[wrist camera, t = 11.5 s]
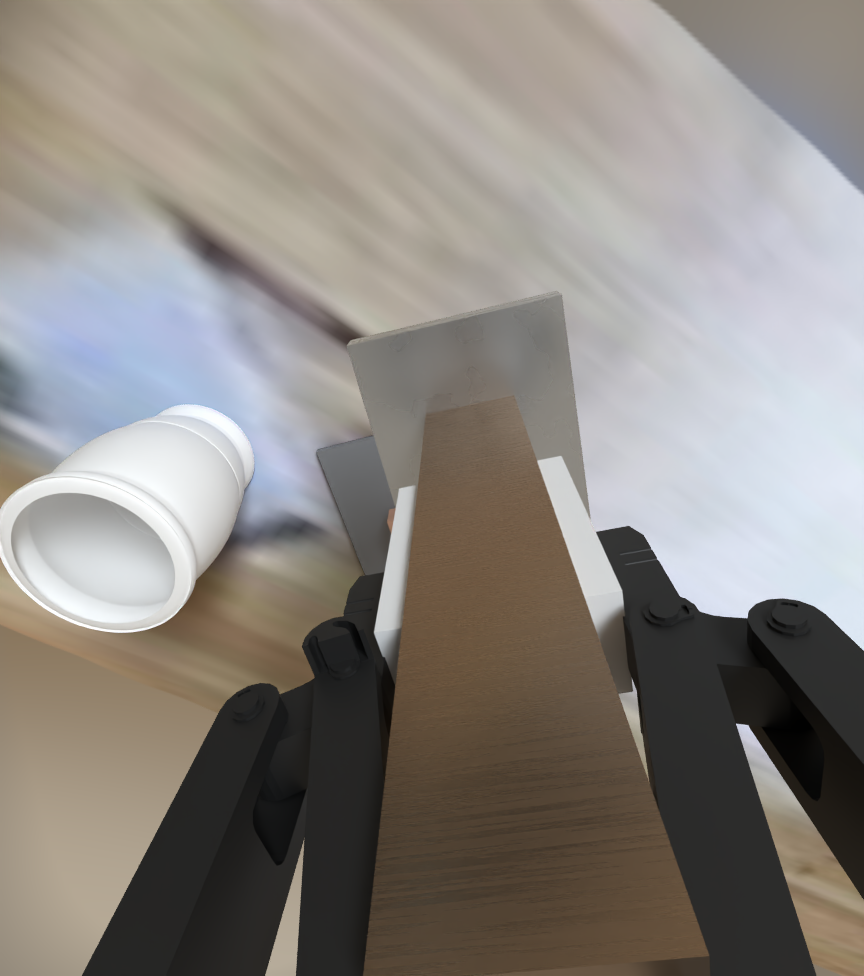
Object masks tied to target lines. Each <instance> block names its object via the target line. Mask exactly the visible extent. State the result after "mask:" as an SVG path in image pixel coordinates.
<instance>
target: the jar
mask: <svg viewBox="0 0 864 976" xmlns="http://www.w3.org/2000/svg"><path fill="white" fill-rule="evenodd" d="M254 465H255V461H254V454H253V450H252V447H251V444H250V442H249V440H248V438H247V437H246V435H245V434H244V432H243V431H242V430H241V429H240V427H239V426H238V425H237V424H236V423H234V422H233V421H232V420H231V419H230V418H228V417H227V416H225V415H224V414H222V413H220V412H218V411H216V410H214V409H211V408H208V407H205V406H200V405H192V404H184V405H177V406H173V407H170V408H168V409H165V410H164V411H162V412H160V413H159V414H158V415H156V416H155V417H150V418H146V419H143V420H140V421H137V422H135V423H132V424H130V425H128V426H124V427H121V428H118V429H115V430H112V431H110V432H107V433H105V434H103V435H101V436H99V437H97V438H95V439H93V440H92V441H90V442H88V443H87V444H85V445H83V446H82V447H80V448H79V449H78V450H76V451H75V452H74V453H72V454H71V455H70V456H69V457H68V458H66V459H65V460H64V461H63V462H62V463H61V464H60V465H59V466H58V467H57V468H56V469H55V470H54V471H53V472H52V473H51V474H48V475H44V476H42V477H39V478H37V479H35V480H33V481H31V482H29V483H27V484H26V485H24V486H23V487H21V488H19V489H18V490H16V491H15V492H14V493H13V494H12V495H10V496H9V498H8V499H7V500H6V501H5V502H4V504H3V506H2V507H1V509H0V557H1V560H2V562H3V564H4V566H5V567H6V569H7V571H8V572H9V574H10V575H11V577H12V578H13V580H14V581H15V582H16V583H17V584H18V586H19V587H20V588H21V589H22V590H23V591H24V592H25V593H26V594H27V595H28V596H29V597H31V598H32V599H33V600H34V601H35V602H37V603H38V604H39V605H41V606H42V607H44V608H45V609H47V610H48V611H50V612H51V613H53V614H55V615H57V616H59V617H61V618H63V619H65V620H67V621H69V622H72V623H74V624H77V625H80V626H83V627H86V628H90V629H94V630H99V631H106V632H117V633H126V632H137V631H143V630H147V629H150V628H153V627H156V626H158V625H160V624H162V623H164V622H166V621H167V620H169V619H170V618H172V617H173V616H174V615H175V614H176V613H177V612H178V611H179V610H180V609H181V608H182V607H183V606H184V604H185V603H186V602H187V600H188V599H189V597H190V595H191V593H192V591H193V589H194V586H195V582H196V579H197V578H199V577H200V576H201V575H202V574H203V572H204V571H205V570H206V569H207V568H208V567H209V566H210V565H211V564H212V562H213V561H214V560H215V559H216V557H217V556H218V554H219V553H220V552H221V550H222V548H223V547H224V545H225V543H226V542H227V540H228V538H229V536H230V534H231V531H232V529H233V526H234V524H235V521H236V517H237V513H238V511H239V508H240V506H241V503H242V499H243V495H244V489H245V488H246V487H247V486H248V484H249V482H250V481H251V478H252V476H253V472H254Z"/></svg>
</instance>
